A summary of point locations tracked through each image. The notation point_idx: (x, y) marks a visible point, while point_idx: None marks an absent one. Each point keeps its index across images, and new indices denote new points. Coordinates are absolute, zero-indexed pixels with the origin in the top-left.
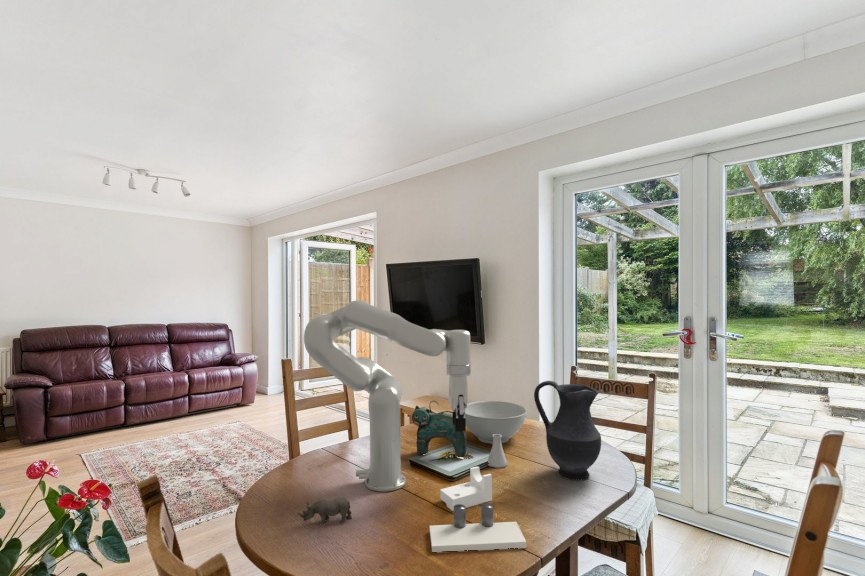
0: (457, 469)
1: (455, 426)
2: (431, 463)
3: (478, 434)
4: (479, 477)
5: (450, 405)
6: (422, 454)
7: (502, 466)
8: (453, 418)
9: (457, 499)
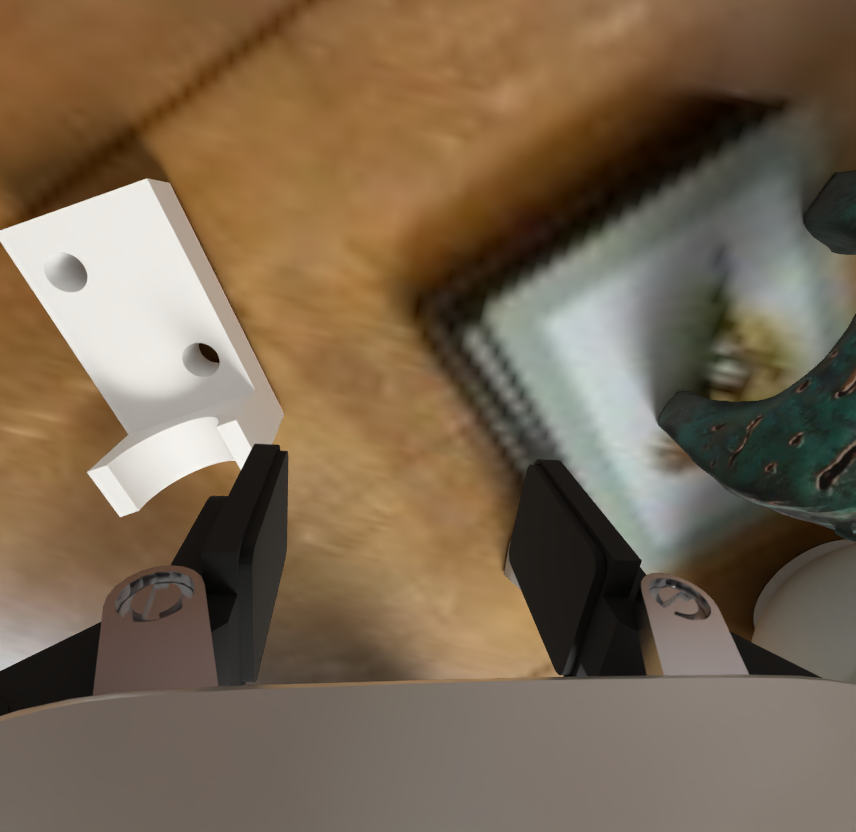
0: (551, 368)
1: (241, 472)
2: (677, 240)
3: (833, 559)
4: (219, 445)
5: (318, 710)
6: (812, 207)
7: (507, 567)
8: (559, 506)
9: (18, 263)
